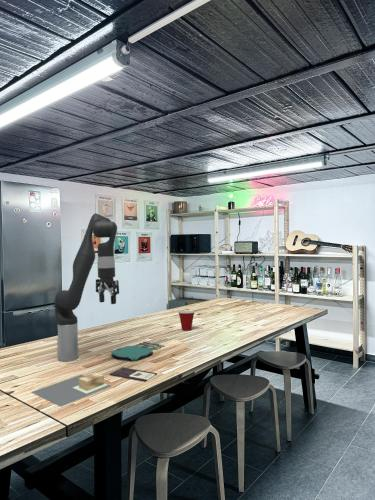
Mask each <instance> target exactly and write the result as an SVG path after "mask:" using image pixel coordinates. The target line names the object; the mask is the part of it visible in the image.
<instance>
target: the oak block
mask: <svg viewBox="0 0 375 500" xmlns="http://www.w3.org/2000/svg"><path fill="white" fill-rule="evenodd" d="M104 383H105V375H104V374H101V373H98V372H93V373H89V374H88V375H84V377H82V378H79V388H81V389H83V390H86V391H88V390H90V389H93V388H95V387H98V386H100V385H103V384H104Z"/></svg>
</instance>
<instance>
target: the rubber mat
mask: <svg viewBox="0 0 375 500" xmlns="http://www.w3.org/2000/svg"><path fill="white" fill-rule="evenodd" d="M84 376H85V375H83V374H79V375H76V376H74V377H71V378H68V379H67V378H66V379H63V380H62V381H59V382H55V383H53V384H50V385H47V386H45V387H42V388H38V389H36V390H33V391H31V392H30V393H32V394H34V395H35V396H38V397H40V398H42V399H44V400H46V401H47V402H50V403H51V404H54V405H56V406H57V407H60V408H62V407H63V406H66V405H68V404H71V403H72V402H76V401H79V400H81V399H82V398H83V399H84V398H86V397H88V396H91V395H93V394H96V393H98V392H100V391H103V390H105V389H108V388H111V387H112V385H111V384H108V383H105V382H104V384H103V385H100V386H98V387H95V388H93V389H90V390H88V391H86V390H83V389H81V388H79V378H82V377H84Z"/></svg>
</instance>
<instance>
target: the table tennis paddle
mask: <svg viewBox="0 0 375 500" xmlns="http://www.w3.org/2000/svg"><path fill="white" fill-rule="evenodd" d="M148 346H149V347H148ZM165 347H166V346H165V345H163V344H159V343H151V342H148V341H143V343H142V342H139V343H138V344H135V345H126V346H122V347H119V348H116V349H114V350H112V351H110V354H111V357H113V356H114V357H115V358H118V359H124V360H131V361H132V362H136V361H137V360H138V359H140V358H141V359H142V358H145V357H148V356H149V355H151V354H154V351H156V350H157V351H158V350H159V349H161V348H165ZM153 350H154V351H153Z"/></svg>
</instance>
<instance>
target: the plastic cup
mask: <svg viewBox="0 0 375 500" xmlns="http://www.w3.org/2000/svg"><path fill="white" fill-rule="evenodd" d="M177 313H178V315H179V320H180V325H181V329H182V331H184V332H188V331H189V332H190V331H191V330H192V327H193V322H194V321H193V319H194V315H195V313H196V311H194V310H180V311H177Z"/></svg>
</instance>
